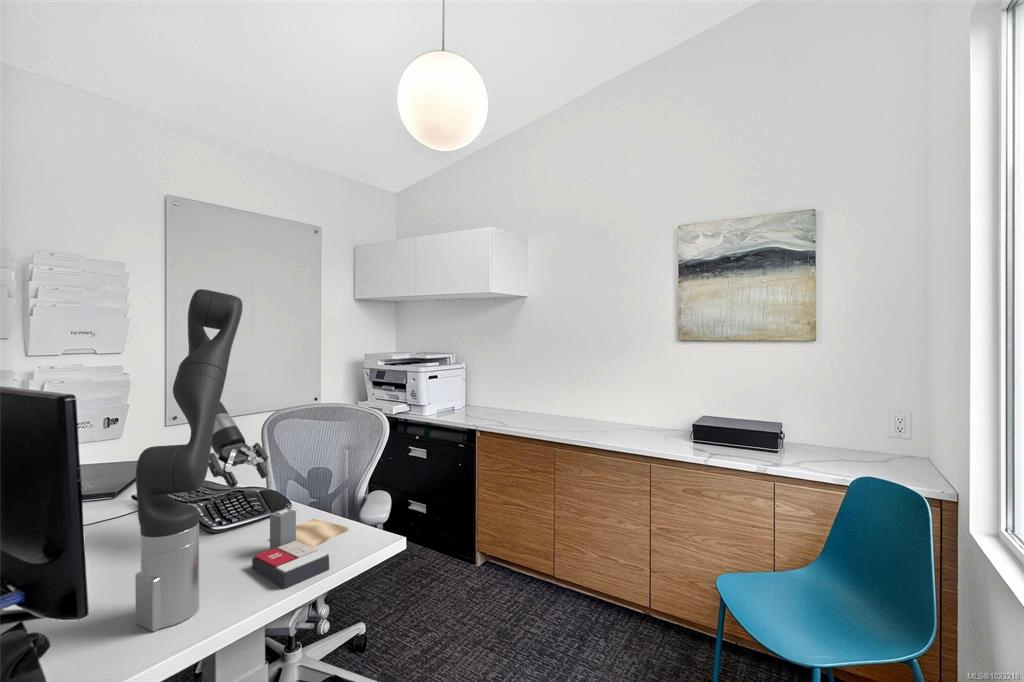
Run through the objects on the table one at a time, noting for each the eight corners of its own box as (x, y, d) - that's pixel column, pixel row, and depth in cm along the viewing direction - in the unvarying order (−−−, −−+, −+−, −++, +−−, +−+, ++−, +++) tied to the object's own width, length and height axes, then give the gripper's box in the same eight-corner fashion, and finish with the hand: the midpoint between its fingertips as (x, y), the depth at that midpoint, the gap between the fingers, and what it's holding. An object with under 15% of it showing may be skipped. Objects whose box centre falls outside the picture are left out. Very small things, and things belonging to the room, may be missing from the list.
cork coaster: (306, 550, 118) (306, 547, 118) (270, 540, 124) (270, 537, 124) (348, 530, 131) (348, 527, 131) (313, 521, 137) (313, 518, 137)
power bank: (280, 556, 115) (280, 515, 115) (270, 553, 116) (269, 512, 116) (296, 549, 119) (295, 509, 119) (285, 546, 120) (285, 507, 120)
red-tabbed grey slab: (296, 538, 118) (329, 551, 109) (297, 555, 118) (330, 570, 109) (251, 554, 109) (283, 570, 100) (251, 573, 109) (283, 590, 100)
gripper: (202, 430, 120) (230, 480, 115) (253, 420, 133) (281, 465, 128) (190, 448, 122) (217, 498, 117) (241, 437, 135) (268, 481, 130)
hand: (250, 481), depth 123 cm, fingers open, 8 cm apart
